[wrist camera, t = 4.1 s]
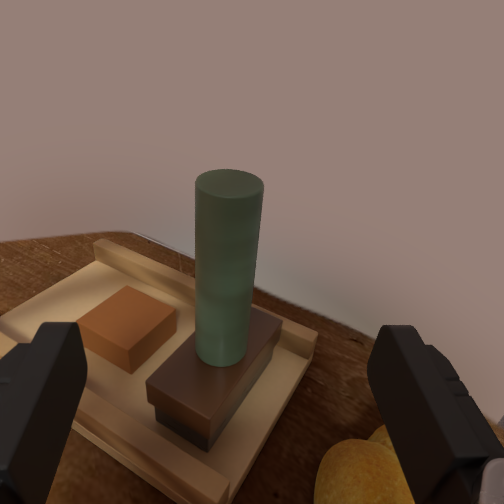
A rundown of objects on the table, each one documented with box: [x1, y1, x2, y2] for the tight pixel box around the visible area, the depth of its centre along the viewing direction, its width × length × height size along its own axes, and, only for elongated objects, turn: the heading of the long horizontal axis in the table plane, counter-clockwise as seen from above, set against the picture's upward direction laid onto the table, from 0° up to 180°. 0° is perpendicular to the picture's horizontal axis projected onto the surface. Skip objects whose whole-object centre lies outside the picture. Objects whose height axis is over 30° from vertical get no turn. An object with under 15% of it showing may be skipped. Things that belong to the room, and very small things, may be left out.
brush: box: [145, 169, 283, 453], centre depth 18 cm, size 4×7×12 cm, turn 150°
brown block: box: [76, 285, 177, 375], centre depth 23 cm, size 4×4×2 cm
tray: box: [0, 238, 318, 504], centre depth 23 cm, size 18×11×3 cm, turn 61°
